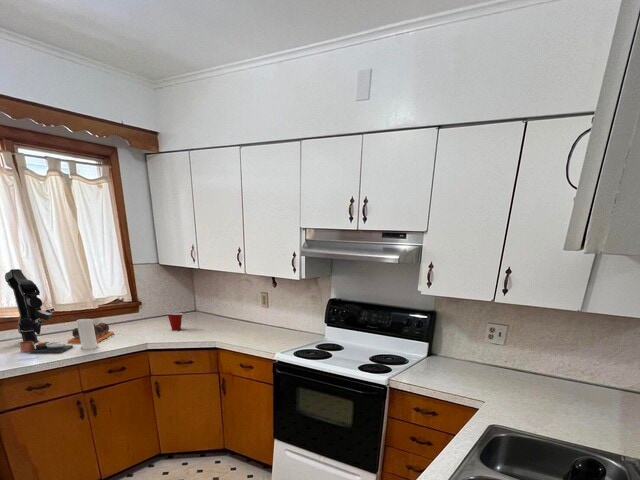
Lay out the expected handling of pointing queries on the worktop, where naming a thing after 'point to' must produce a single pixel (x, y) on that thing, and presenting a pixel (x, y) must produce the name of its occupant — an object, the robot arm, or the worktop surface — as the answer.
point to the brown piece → (100, 333)
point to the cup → (87, 333)
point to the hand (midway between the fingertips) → (38, 334)
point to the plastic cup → (175, 320)
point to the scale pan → (54, 344)
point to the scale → (51, 349)
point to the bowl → (26, 346)
